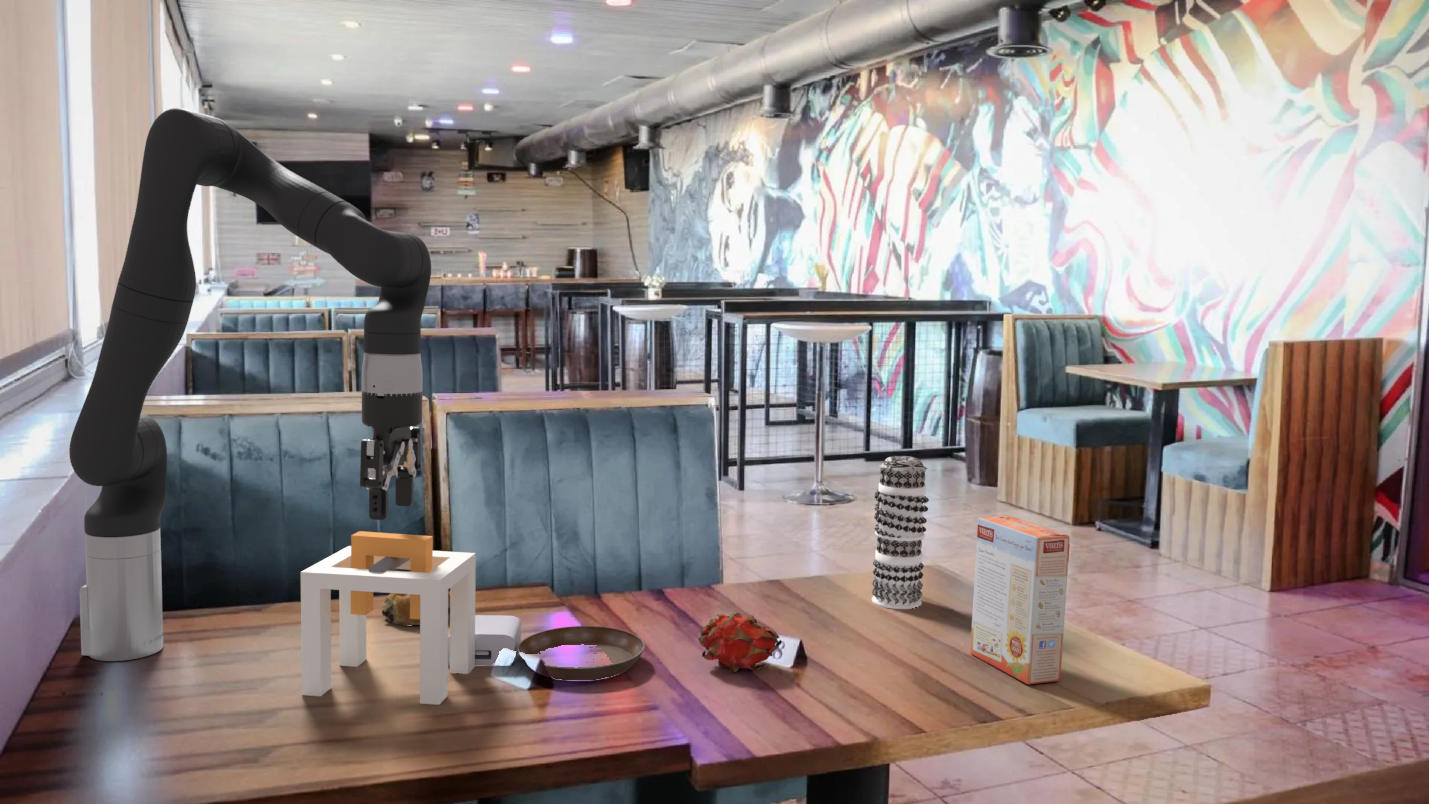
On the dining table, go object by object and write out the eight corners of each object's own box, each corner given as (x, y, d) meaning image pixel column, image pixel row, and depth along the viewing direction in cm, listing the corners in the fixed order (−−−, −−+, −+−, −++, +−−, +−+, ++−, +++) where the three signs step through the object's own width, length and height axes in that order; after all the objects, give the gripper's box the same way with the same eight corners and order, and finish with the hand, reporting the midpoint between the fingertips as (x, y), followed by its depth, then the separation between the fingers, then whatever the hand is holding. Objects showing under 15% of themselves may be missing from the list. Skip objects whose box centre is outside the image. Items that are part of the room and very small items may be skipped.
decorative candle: (868, 607, 187) (875, 460, 184) (870, 592, 196) (876, 452, 193) (923, 611, 185) (931, 463, 183) (922, 596, 194) (930, 455, 192)
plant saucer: (519, 691, 145) (519, 668, 145) (515, 647, 162) (515, 627, 162) (652, 685, 149) (653, 663, 148) (635, 642, 166) (635, 623, 166)
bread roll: (429, 651, 169) (452, 606, 169) (368, 621, 169) (391, 575, 168) (445, 631, 179) (467, 588, 179) (388, 602, 179) (409, 559, 178)
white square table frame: (301, 695, 141) (300, 564, 139) (349, 658, 155) (348, 538, 153) (439, 704, 139) (439, 572, 137) (474, 666, 153) (475, 545, 151)
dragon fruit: (690, 676, 156) (772, 687, 158) (702, 659, 149) (788, 670, 151) (694, 618, 160) (774, 629, 162) (706, 598, 153) (790, 610, 155)
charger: (525, 633, 169) (513, 668, 154) (463, 632, 168) (446, 667, 153) (525, 603, 168) (514, 634, 153) (464, 602, 167) (446, 633, 153)
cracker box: (1063, 682, 154) (1073, 534, 152) (1027, 686, 152) (1036, 536, 149) (1002, 650, 167) (1010, 513, 165) (968, 653, 165) (976, 515, 162)
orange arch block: (350, 613, 145) (351, 535, 144) (358, 608, 148) (359, 531, 147) (424, 619, 144) (425, 540, 143) (431, 614, 147) (432, 536, 146)
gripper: (386, 382, 150) (385, 500, 152) (340, 392, 136) (340, 522, 138) (439, 384, 149) (439, 503, 151) (399, 395, 135) (398, 525, 137)
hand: (391, 512), depth 144 cm, fingers open, 8 cm apart
